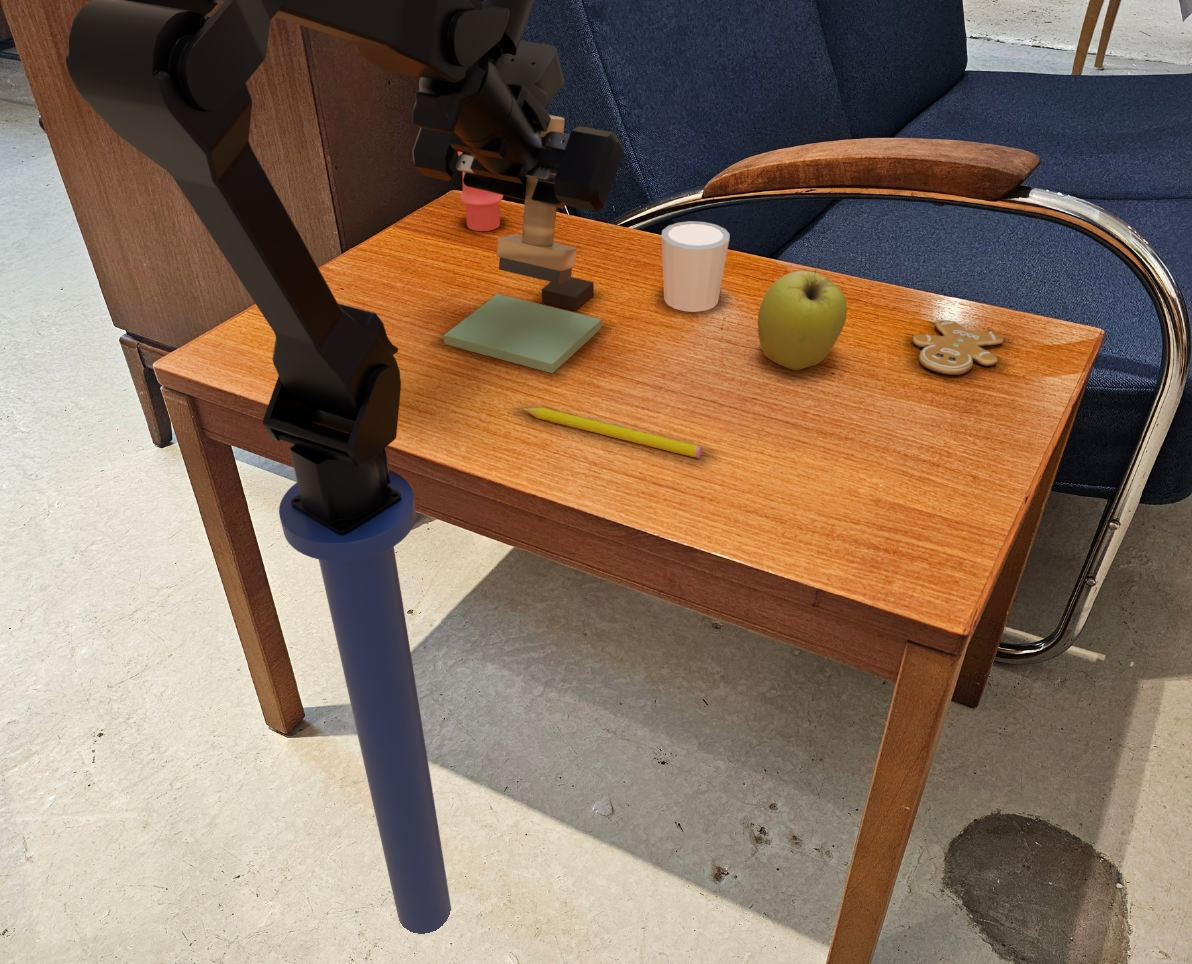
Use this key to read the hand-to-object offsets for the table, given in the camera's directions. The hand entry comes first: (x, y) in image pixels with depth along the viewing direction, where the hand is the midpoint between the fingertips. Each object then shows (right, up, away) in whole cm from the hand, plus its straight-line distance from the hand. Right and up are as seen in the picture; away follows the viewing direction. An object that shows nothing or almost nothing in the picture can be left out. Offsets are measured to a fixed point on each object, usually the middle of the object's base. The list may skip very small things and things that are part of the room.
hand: (549, 200), depth 99 cm
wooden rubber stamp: (-2, -6, +2) cm, 7 cm away
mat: (-3, -12, +4) cm, 13 cm away
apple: (+23, -15, +1) cm, 28 cm away
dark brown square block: (+1, -7, +10) cm, 12 cm away
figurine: (-9, +6, +24) cm, 26 cm away
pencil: (+6, -24, -9) cm, 26 cm away
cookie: (+39, -14, +2) cm, 41 cm away
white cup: (+14, -7, +10) cm, 19 cm away
